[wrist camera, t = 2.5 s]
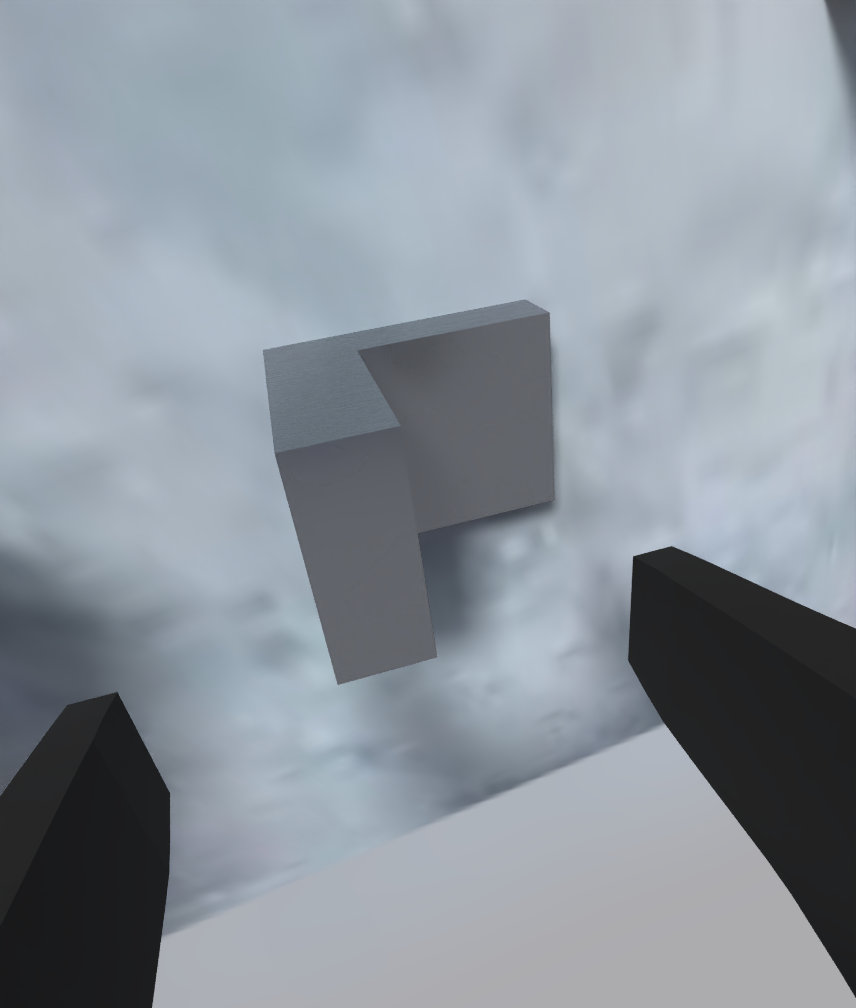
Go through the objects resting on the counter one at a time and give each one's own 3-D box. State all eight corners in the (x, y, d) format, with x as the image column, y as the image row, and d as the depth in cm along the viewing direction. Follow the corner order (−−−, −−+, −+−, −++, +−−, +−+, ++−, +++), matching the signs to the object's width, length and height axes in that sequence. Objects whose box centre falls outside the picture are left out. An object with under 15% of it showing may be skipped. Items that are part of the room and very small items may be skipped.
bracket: (309, 528, 17) (337, 684, 12) (262, 350, 15) (274, 453, 10) (532, 475, 18) (644, 599, 13) (524, 299, 16) (657, 369, 11)
